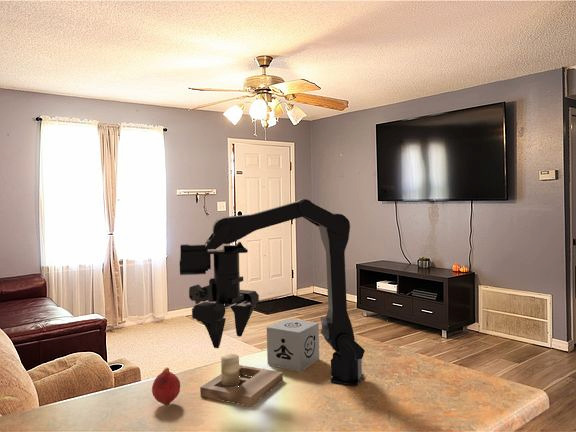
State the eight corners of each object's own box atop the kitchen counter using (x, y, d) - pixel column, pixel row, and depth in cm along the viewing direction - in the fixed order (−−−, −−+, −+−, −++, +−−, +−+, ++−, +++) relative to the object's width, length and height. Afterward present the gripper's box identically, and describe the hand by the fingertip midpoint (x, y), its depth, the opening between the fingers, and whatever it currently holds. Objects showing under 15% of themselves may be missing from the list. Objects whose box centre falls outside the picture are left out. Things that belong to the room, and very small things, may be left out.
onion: (173, 412, 95) (172, 373, 95) (147, 410, 96) (146, 372, 96) (185, 399, 101) (183, 363, 100) (160, 398, 102) (159, 362, 101)
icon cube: (288, 353, 129) (287, 318, 129) (319, 359, 124) (318, 322, 123) (267, 364, 121) (266, 327, 120) (300, 371, 115) (299, 332, 115)
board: (282, 380, 110) (282, 372, 110) (250, 406, 97) (250, 397, 97) (236, 372, 116) (236, 364, 116) (200, 395, 102) (200, 387, 102)
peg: (243, 389, 105) (242, 355, 105) (233, 397, 101) (232, 361, 101) (228, 386, 107) (227, 353, 107) (218, 393, 103) (217, 358, 103)
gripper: (220, 265, 115) (222, 327, 116) (170, 277, 98) (172, 349, 99) (259, 267, 110) (260, 332, 111) (213, 281, 93) (215, 356, 94)
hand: (228, 341), depth 104 cm, fingers open, 9 cm apart
